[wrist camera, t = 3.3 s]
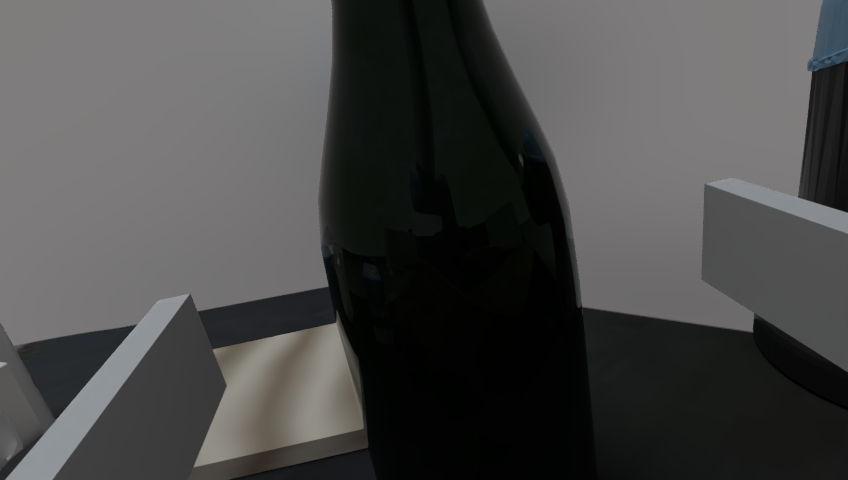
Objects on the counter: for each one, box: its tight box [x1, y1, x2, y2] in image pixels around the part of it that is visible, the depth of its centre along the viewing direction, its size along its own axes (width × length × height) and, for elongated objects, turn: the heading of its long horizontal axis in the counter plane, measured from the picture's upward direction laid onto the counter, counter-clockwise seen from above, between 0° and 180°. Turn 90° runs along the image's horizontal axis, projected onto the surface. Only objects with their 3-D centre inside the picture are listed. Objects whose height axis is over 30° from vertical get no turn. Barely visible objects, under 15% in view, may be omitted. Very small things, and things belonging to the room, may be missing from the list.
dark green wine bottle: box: [318, 0, 597, 480], centre depth 19 cm, size 10×10×33 cm
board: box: [188, 323, 368, 480], centre depth 36 cm, size 16×14×2 cm
